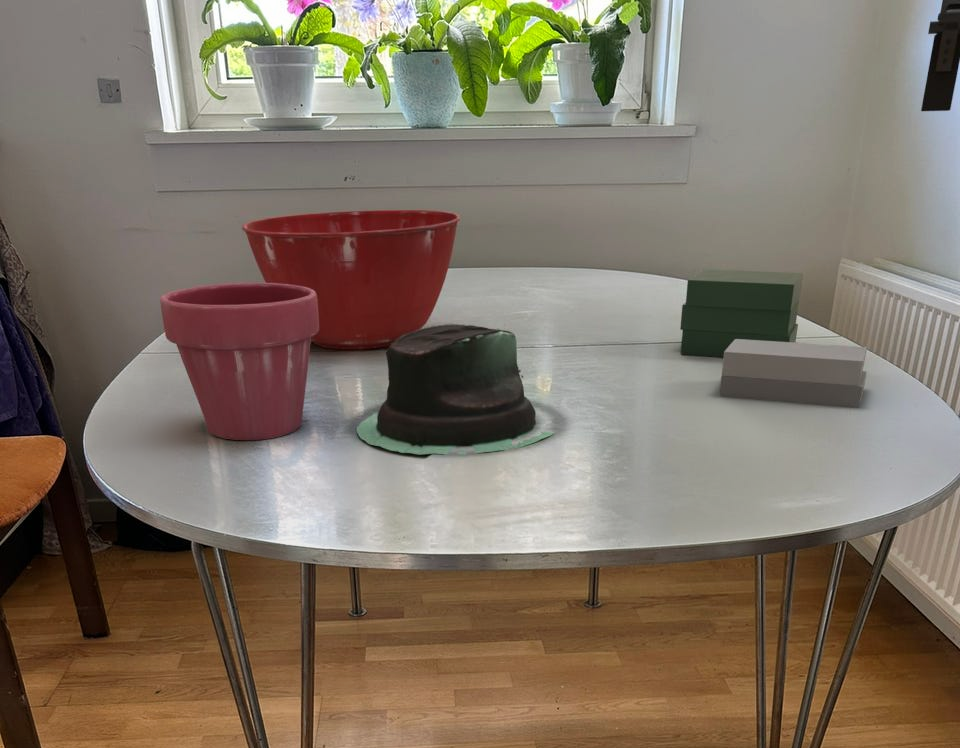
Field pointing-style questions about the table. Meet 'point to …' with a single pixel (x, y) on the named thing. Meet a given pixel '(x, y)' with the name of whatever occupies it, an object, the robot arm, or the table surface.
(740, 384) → the grey pile
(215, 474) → the table surface
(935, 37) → the robot arm
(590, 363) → the table surface
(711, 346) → the green pile
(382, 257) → the mixing bowl
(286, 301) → the flower pot
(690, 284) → the green book
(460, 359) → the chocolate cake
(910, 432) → the table surface
